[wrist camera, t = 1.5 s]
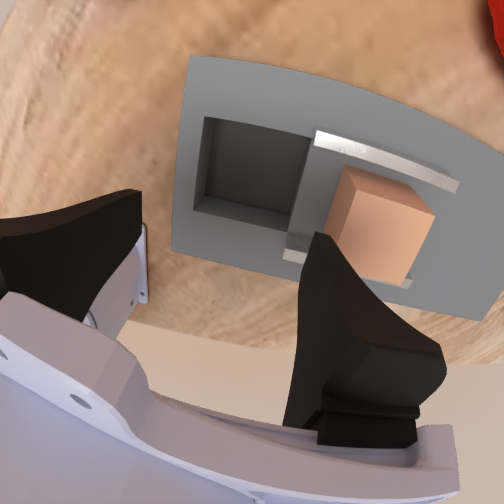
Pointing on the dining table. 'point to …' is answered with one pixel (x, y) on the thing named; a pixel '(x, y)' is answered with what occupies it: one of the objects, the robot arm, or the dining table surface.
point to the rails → (375, 153)
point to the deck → (327, 179)
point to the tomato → (498, 21)
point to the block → (377, 224)
